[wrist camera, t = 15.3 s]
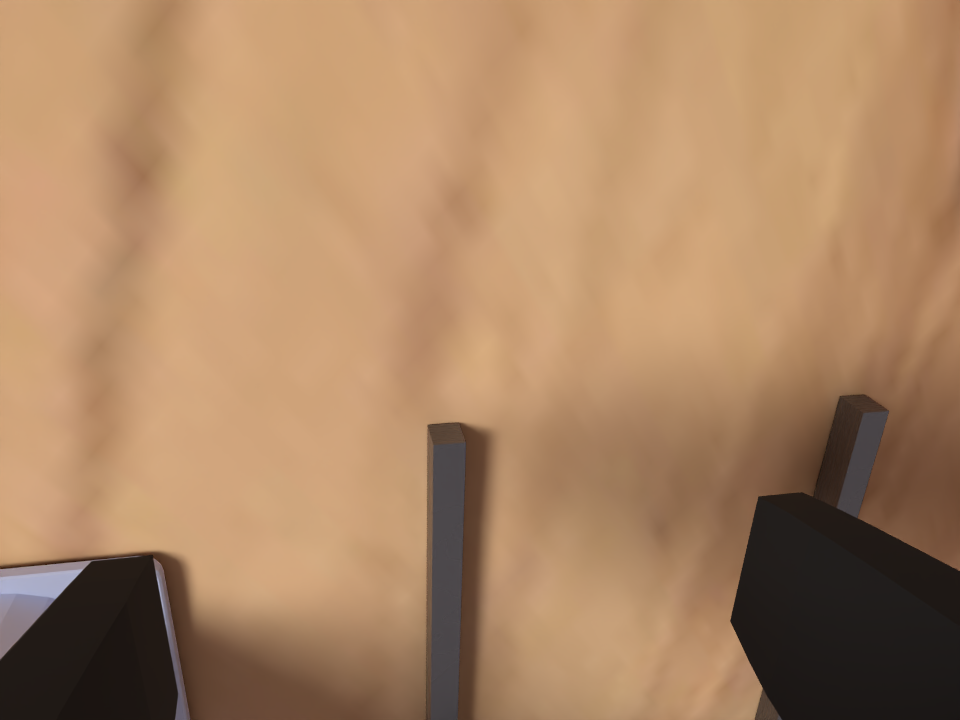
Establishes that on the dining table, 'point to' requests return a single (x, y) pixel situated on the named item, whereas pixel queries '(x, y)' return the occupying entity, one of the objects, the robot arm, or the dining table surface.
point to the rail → (445, 519)
